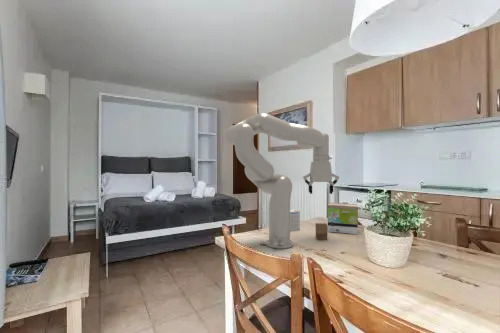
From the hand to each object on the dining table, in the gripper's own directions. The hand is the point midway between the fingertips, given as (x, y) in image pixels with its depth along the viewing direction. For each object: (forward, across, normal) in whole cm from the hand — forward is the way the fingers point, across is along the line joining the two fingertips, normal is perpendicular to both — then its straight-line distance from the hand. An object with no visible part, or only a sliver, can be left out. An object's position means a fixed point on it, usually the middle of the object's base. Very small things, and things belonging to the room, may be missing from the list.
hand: (320, 193), depth 129 cm
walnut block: (+22, 0, +2) cm, 22 cm away
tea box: (+22, -14, -13) cm, 29 cm away
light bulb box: (+22, +14, -17) cm, 31 cm away
